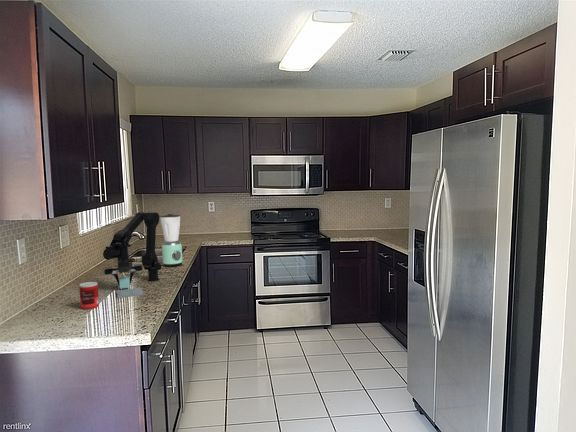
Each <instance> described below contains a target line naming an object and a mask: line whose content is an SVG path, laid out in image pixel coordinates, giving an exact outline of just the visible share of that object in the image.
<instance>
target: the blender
mask: <svg viewBox="0 0 576 432" xmlns="http://www.w3.org/2000/svg"><path fill="white" fill-rule="evenodd" d="M159 221H160V224H161V229H162V233H163V239H164V241H163V242H162V244H161V252H162V253H161V254H162V255H161V256H162V266H164V265H165V266H164V267H166V266H167V267H168V268H172V267H174V266H180V265H181V266H183V262H184V260H183V259H184V258H183V245H182V242H181V241H180V239H179V238H180V227H181V215H180V214H172V213H170V214H166V215H159Z"/></svg>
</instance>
